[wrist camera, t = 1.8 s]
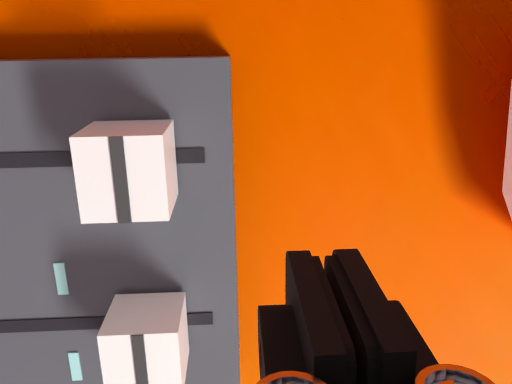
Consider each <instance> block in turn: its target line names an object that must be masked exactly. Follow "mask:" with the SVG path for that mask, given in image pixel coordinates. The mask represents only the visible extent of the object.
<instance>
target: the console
mask: <svg viewBox="0 0 512 384" xmlns="http://www.w3.org/2000/svg"><path fill="white" fill-rule="evenodd" d="M167 119H173V123H174V137H175V151H176V166H177V180H178V196H177V199H176V202H175V205H174V208H173V211H172V214H171V217H170V220H169V221H154V222H132V223H91V224H81V220H80V213H79V206H78V199H77V192H76V185H75V177H74V170H73V163H72V156H71V149H70V142H69V137H70V136H72V135H73V134H75V133H77V132H78V131H80V130H81V129H83V128H84V127H86V126H87V125H89V124H91V123H92V122H94V121H123V120H167ZM167 292H185V296H186V310H187V324H188V339H189V356H188V364H187V371H186V379H185V384H240V360H239V328H238V295H237V262H236V229H235V197H234V164H233V131H232V99H231V66H230V55H229V56H172V57H115V58H57V59H0V384H103V377H102V370H101V363H100V356H99V349H98V342H97V334H98V332H99V330H100V328H101V325H102V323H103V321H104V319H105V316H106V314H107V312H108V310H109V307H110V305H111V303H112V301H113V298H114V296H115V294H140V293H167Z"/></svg>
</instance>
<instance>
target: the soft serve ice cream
mask: <svg viewBox="0 0 512 384" xmlns="http://www.w3.org/2000/svg"><path fill="white" fill-rule="evenodd" d="M502 193H503V196H504V199H505V202H506V205H507V208H508V211H509V214H510V217H511V220H512V81H511V93H510V105H509V116H508V128H507V140H506V151H505V163H504V175H503V186H502Z"/></svg>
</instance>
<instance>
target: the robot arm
mask: <svg viewBox="0 0 512 384" xmlns="http://www.w3.org/2000/svg"><path fill="white" fill-rule="evenodd" d="M258 343H259V365H260V379H261V380H260V381H259V382H258V383H257V384H495V383H493V382H492V381H491V380H490V379H489V378H487V377H486V376H484V375H482V374H480V373H478V372H476V371H475V370H472V369H469V368H466V367H463V366H458V365H452V364H439V363H438V362H437V360H436V359H435V357H434V356H433V354H432V352H431V351H430V349H429V348H428V346H427V344H426V343H425V341H424V340H423V338H422V336H421V335H420V333H419V332H418V330H417V328H416V327H415V325H414V324H413V322H412V321H411V319H410V317H409V316H408V314H407V313H406V311H405V309H404V308H403V306H402V305H401V303H400V302H399V301H396V300H393V301H388V300H387V298H386V297H385V295H384V293H383V292H382V290H381V288H380V286H379V285H378V283H377V281H376V280H375V278H374V276H373V275H372V273H371V271H370V269H369V268H368V266H367V264H366V263H365V261H364V259H363V257H362V256H361V254H360V252H359V251H358V249H337V250H334V251H333V254H332V256H325V262H324V269H323V266H322V263H321V261H320V258H319V256H311V253H310V251H309V250H308V251H287V252H286V305H263V306H258Z"/></svg>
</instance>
